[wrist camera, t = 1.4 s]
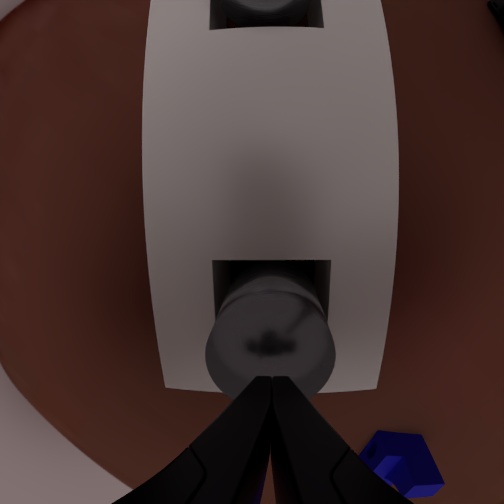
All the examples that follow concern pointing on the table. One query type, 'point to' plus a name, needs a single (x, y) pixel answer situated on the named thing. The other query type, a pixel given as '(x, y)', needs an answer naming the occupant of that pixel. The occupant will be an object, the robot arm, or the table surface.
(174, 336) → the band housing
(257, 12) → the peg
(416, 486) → the blue arch block
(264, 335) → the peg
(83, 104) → the table surface
